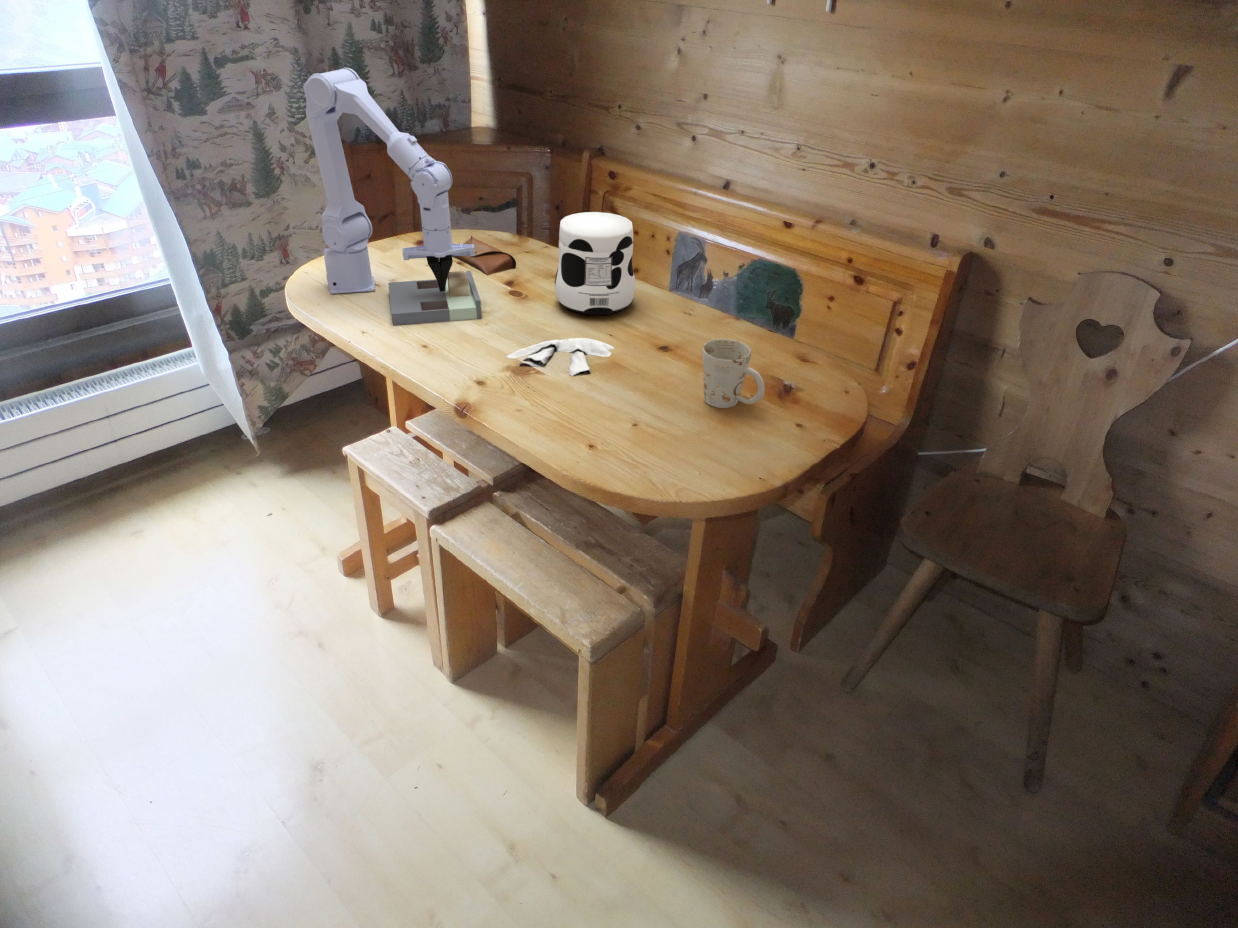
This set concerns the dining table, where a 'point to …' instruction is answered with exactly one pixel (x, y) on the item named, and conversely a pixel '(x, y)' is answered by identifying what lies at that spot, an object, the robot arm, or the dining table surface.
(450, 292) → the beech block
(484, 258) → the sunglasses case
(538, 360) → the cloth
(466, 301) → the trap board
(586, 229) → the milk container
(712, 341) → the mug
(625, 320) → the dining table surface
